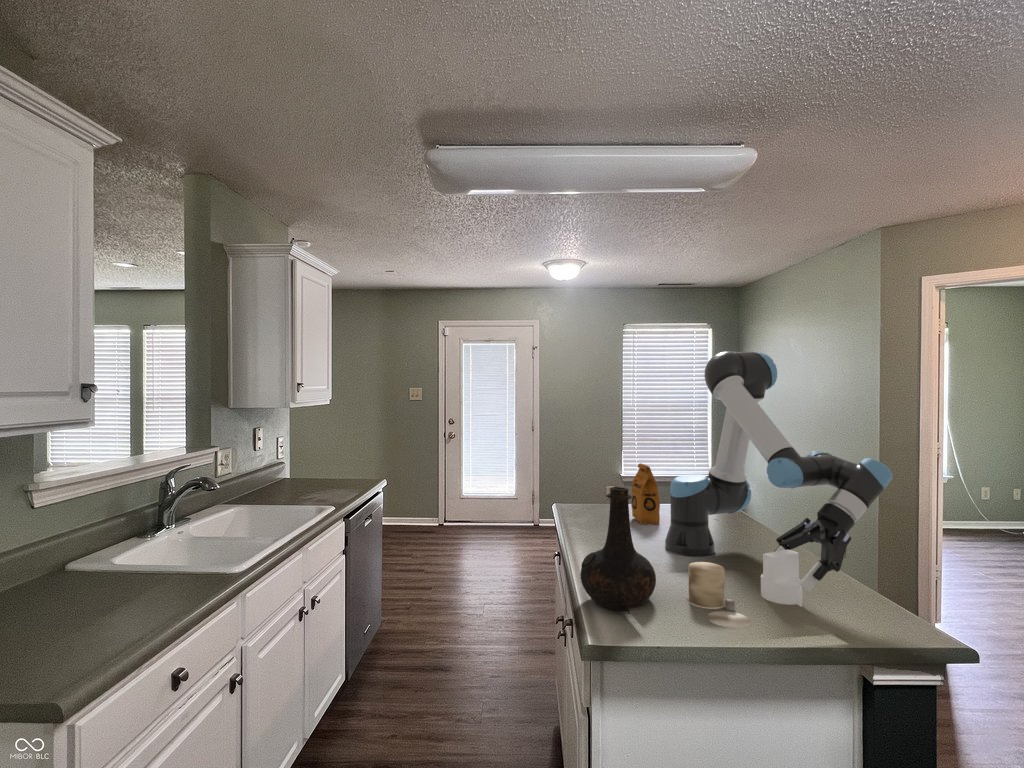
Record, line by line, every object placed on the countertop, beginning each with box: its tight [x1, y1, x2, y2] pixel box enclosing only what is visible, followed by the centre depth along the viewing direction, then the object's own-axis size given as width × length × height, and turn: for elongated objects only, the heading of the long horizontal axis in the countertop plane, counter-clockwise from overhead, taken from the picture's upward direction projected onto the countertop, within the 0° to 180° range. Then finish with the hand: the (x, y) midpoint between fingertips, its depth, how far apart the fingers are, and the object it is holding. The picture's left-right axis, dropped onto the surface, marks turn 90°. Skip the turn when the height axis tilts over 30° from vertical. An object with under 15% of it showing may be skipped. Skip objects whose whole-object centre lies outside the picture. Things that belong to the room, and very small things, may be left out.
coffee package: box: [630, 462, 661, 525], centre depth 214 cm, size 10×12×22 cm
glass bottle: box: [579, 486, 657, 611], centre depth 133 cm, size 18×18×28 cm
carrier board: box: [686, 595, 753, 629], centre depth 125 cm, size 21×21×3 cm
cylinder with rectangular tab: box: [760, 549, 803, 608], centre depth 132 cm, size 9×9×12 cm
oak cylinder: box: [688, 561, 726, 608], centre depth 130 cm, size 8×8×8 cm
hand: (784, 577), depth 131 cm, fingers open, 13 cm apart
